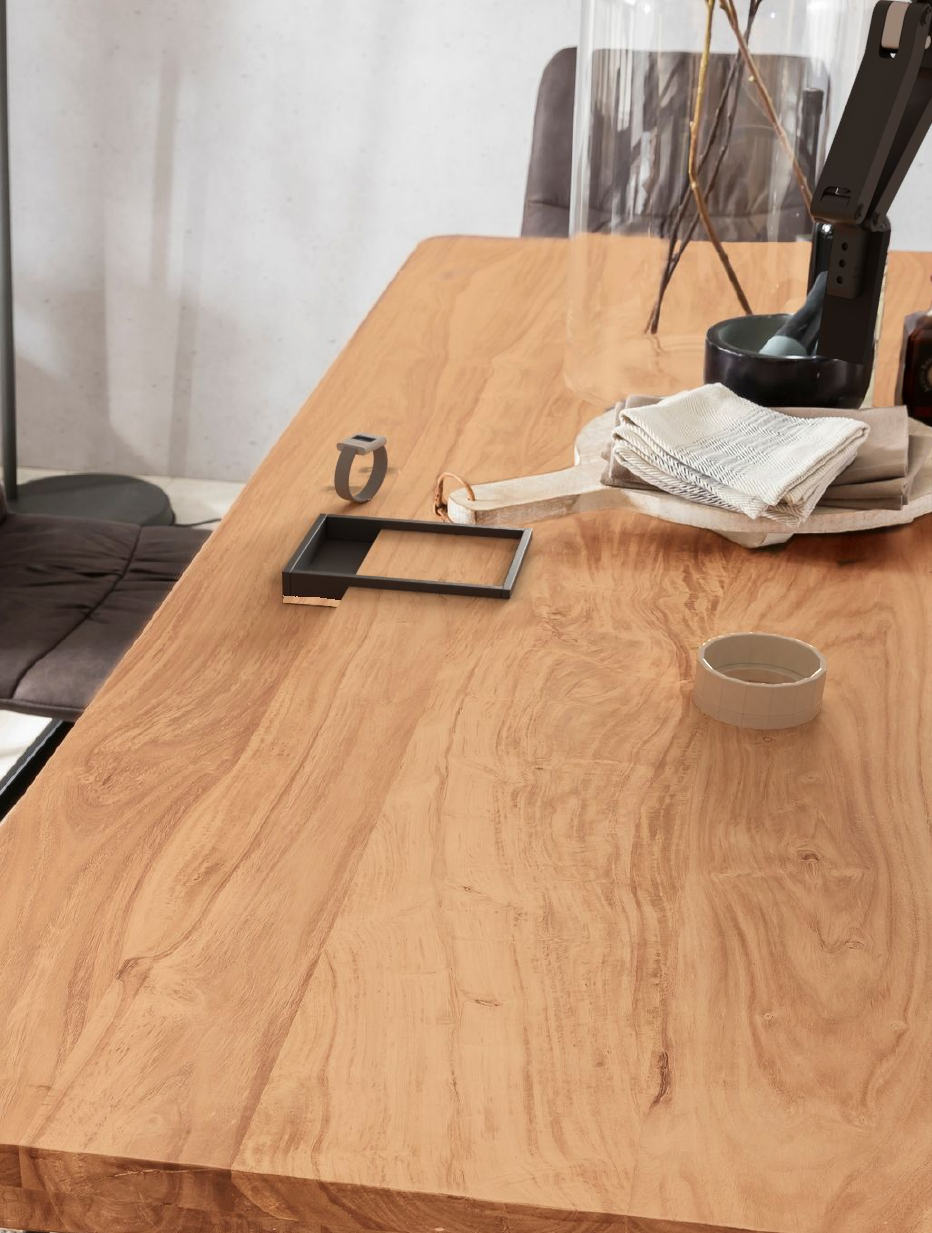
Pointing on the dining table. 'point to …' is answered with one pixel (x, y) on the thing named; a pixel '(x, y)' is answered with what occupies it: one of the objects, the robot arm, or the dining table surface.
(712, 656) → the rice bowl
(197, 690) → the dining table surface
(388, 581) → the tray frame
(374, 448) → the wristwatch
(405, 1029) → the dining table surface
